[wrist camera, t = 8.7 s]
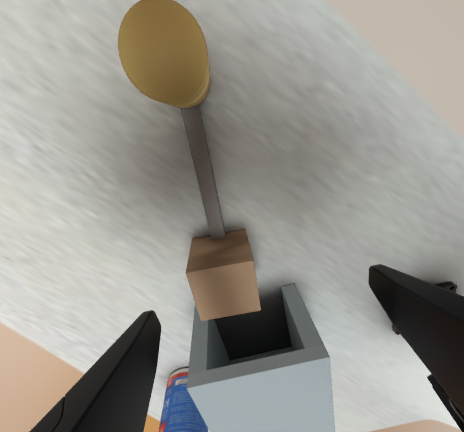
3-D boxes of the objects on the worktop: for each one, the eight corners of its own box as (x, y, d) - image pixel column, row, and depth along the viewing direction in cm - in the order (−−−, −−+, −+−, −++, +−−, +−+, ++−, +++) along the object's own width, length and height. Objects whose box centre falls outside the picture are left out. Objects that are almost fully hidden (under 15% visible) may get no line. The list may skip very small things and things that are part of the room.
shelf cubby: (294, 283, 24) (329, 357, 16) (304, 351, 28) (335, 432, 21) (195, 306, 24) (186, 388, 17) (221, 370, 29) (223, 455, 21)
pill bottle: (165, 367, 28) (142, 485, 19) (208, 364, 28) (205, 478, 19) (170, 393, 30) (152, 509, 21) (210, 390, 30) (208, 502, 21)
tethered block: (214, 42, 15) (214, -15, 8) (251, 271, 23) (266, 331, 16) (141, 55, 15) (85, 9, 8) (203, 280, 23) (199, 343, 16)
